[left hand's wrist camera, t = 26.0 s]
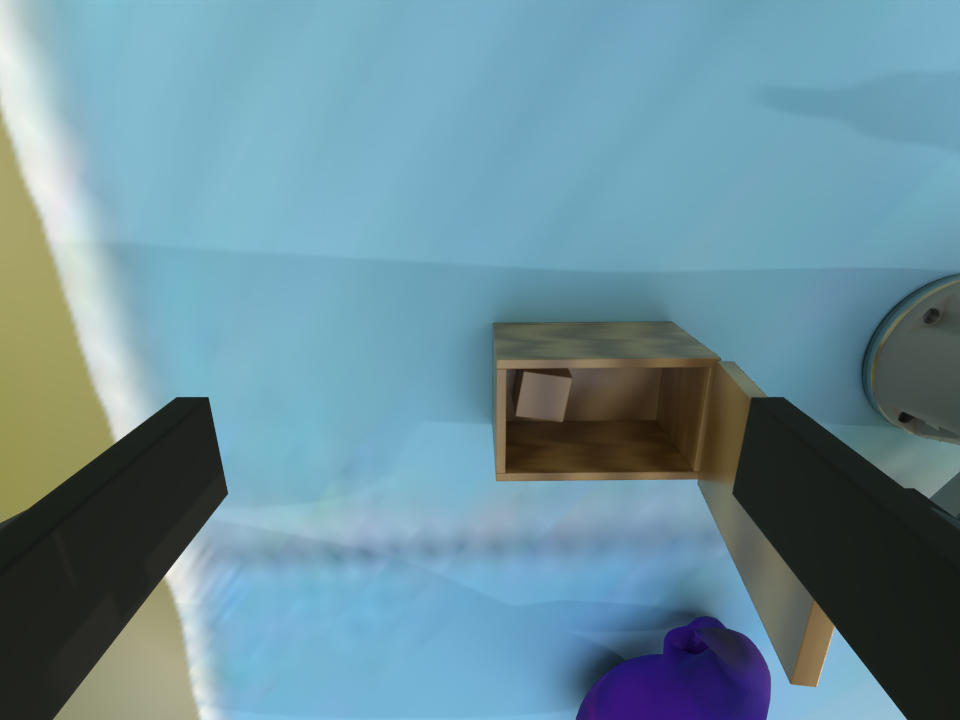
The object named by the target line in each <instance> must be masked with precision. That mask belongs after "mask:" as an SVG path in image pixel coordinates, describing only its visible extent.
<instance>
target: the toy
mask: <svg viewBox="0 0 960 720" xmlns="http://www.w3.org/2000/svg"><path fill="white" fill-rule="evenodd" d="M770 693H771V677H770V672H769V669H768V666H767V664H766V662H765V660H764V658H763V656H762V654H761V653H760V651H759V650H758V648H757V647H756V645H755V644H754V643H753V642H752V641H751V640H750V639H749V638H748V637H746V636H745V635H743V634H742V633H739V632H736V631H733V630H730V629H727V628H726V627H725V626H724V625H723V624H722V623H721V622H720V621H719V620H717V619H716V618H713V617H707V616H704V617H699V618H697V619H695V620H694V621H692V622H691V623H690V624H688V625H687V626H682V627H677V628H674V629H672V630H671V631H669V632H668V633H667V635H666V636H665V639H664V650H663V654H656V655H646V656H641V657H637V658H633V659H630V660H627V661H625V662H623V663H621V664H619V665H617V666H616V667H614V668H613V669H611V670H610V671H609V672H607V673H606V674H605V675H603V676H602V677H601V678H600V679H599V680H598V681H597V682H596V683H595V684H594V685H593V686H592V688H591V689H590V690H589V692H588V693H587V695H586V696H585V698H584V700H583V702H582V704H581V706H580V708H579V711H578V714H577V717H576V720H766V718H767V714H768V708H769V703H770Z"/></svg>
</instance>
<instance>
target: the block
mask: <svg viewBox="0 0 960 720" xmlns="http://www.w3.org/2000/svg"><path fill="white" fill-rule="evenodd" d="M572 380H573V378H572V376H571V373H570V371H569V369H568V368H536V369H517V371H516V377H515V382H514V387H513V393H512V400H513V406H514V412H515V416H518V417H526V418H533V419H541V420H548V421H556V422H563V419H564V415H565V411H566V406H567V402H568V397H569V393H570V389H571V384H572Z"/></svg>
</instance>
